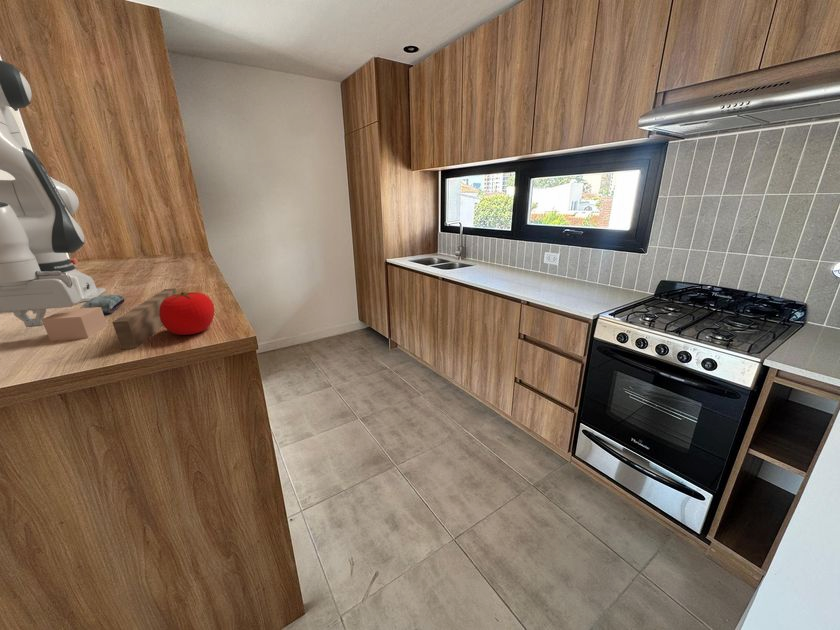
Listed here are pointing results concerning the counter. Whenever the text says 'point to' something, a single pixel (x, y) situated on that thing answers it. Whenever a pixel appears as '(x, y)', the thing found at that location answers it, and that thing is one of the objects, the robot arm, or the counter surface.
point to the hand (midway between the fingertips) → (36, 325)
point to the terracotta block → (75, 323)
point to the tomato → (186, 313)
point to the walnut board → (141, 321)
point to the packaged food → (105, 303)
